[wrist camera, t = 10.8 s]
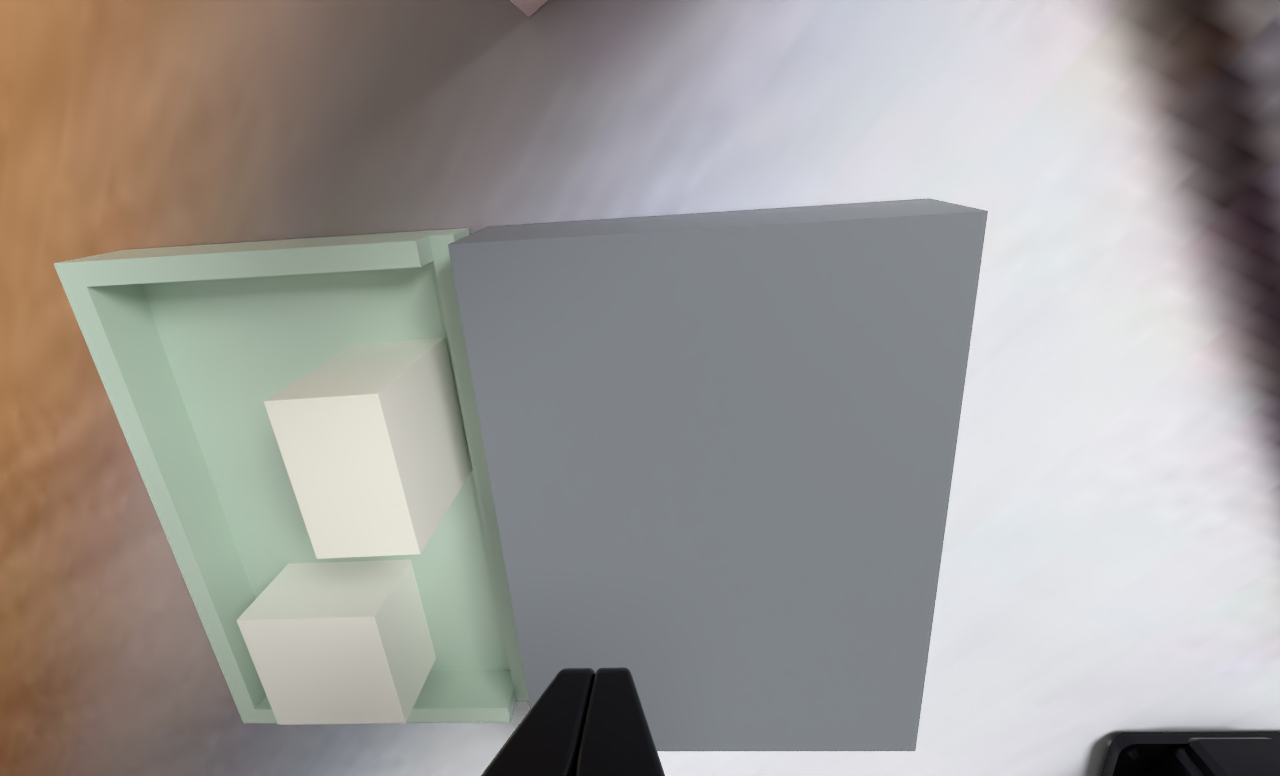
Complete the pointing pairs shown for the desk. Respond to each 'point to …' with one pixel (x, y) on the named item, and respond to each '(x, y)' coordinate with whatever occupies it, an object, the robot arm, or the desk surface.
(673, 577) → the gray rectangular block
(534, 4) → the greeting card
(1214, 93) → the desk surface
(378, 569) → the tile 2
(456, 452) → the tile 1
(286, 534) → the box
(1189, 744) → the robot arm
